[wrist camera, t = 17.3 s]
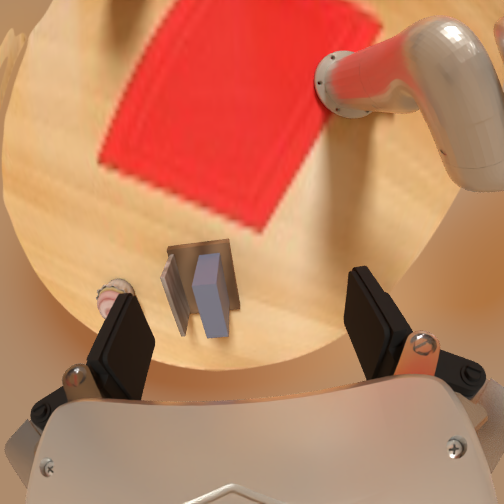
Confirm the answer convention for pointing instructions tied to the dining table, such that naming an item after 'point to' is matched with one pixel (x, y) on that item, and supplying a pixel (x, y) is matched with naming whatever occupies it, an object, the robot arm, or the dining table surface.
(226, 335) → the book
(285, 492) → the robot arm
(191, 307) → the bent wood veneer panel
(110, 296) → the cupcake
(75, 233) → the dining table surface
